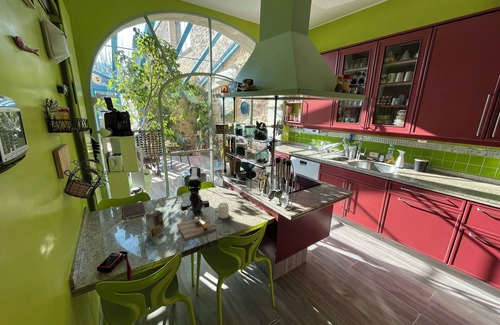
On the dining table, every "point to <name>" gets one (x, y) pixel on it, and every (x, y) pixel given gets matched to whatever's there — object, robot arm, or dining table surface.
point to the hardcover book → (133, 210)
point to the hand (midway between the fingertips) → (195, 216)
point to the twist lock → (200, 222)
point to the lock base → (194, 228)
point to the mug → (222, 210)
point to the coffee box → (154, 224)
